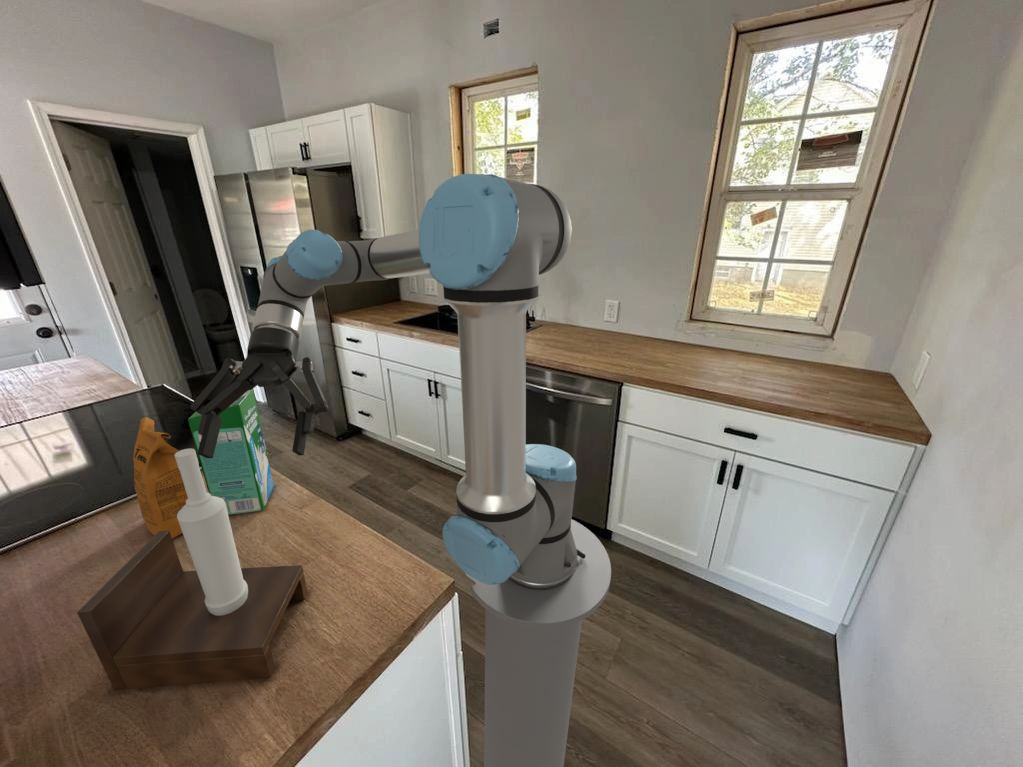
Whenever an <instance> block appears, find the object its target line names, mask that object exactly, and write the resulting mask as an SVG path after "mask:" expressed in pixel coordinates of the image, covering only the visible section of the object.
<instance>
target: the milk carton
mask: <svg viewBox="0 0 1023 767" xmlns="http://www.w3.org/2000/svg"><path fill="white" fill-rule="evenodd" d="M218 417H220V418H222V422H221V426H220V431H219V435H218V439H217V443H216V447H215V451H214V455H213V458H206V457H203V456H201V455H198V454H197V453H198V449H199V445H200V441H201V438H202V435H200V434H199V433H198V429H199V425H200V421H201V418H202V415H201V414H199V413H197V412H196V411H194V413H192V414H191V416H190V417H188V418H187V421H188V426H189V428H190V433H191V436H192V440H193V442H194V446H195V451H196V454H197V458H198V461H199V464H200V468H201V471H202V474H203V478H204V481H205V482H204V483H205V486H206V488H207V489H206V490H207V492H208V493H210V494H211V496H215V497H219V498H222V499H223V500H224V501H225V504H226V508H227V512H228V516H229V515H230V516H231V515H238V514H246V513H252V512H261V511H264V509H265V508H266V505H267V502H268V500H269V498H270V496H271V494H272V492H273V490H274V487H275V484H274V480H273V476H272V470H271V466H270V461H269V456H268V452H267V448H266V443H265V437H264V434H263V429H262V424H261V418H260V414H259V410H258V404H257V400H256V396H255V391H254V388H253V389H252V390H248V391H247V392H246V393H245V394H243V395H242V396H241V397H240V398H239V399H237V400H236V401H235V402H234V403H233V404H232V405H230V406H229V407H228V408H227V409H226V410H224V411H223V412H222V413H221V414H220V415H218Z"/></svg>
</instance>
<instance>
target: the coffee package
mask: <svg viewBox="0 0 1023 767" xmlns="http://www.w3.org/2000/svg"><path fill="white" fill-rule="evenodd" d="M155 424H156V423H155V420H153V419H151V418H149V417H146V416H145V417H142V418H141V419H140V422H139V428H138V432H137V435H136V440H135V444H134V447H133V448H134V449H133V484H134V485H133V486H134V490H135V493H136V497H137V502H138V506H139V509H140V510H139V511H140V513H141V516H142V518H143V521H144V523H145V524H144V525H145V526H146V528H147V530H148V531H149V533H151V534H152V535H153V536H154V535H155V534H156V533H157V532H158V531H170V534H171V537H172V540H173V539H175V538H176V537H178V536H181V535H183V533H182V530H181V527H180V524H179V521H178V519H177V514H178V512H179V511H180V510H181V509H182V508H183V507H184V506H185V505H186V500H187V499H188V496H187V493H186V490H185V486H184V483H183V480H182V476H181V473H180V470H179V468H178V465H177V462H176V459H175V453H177V452H178V451H180V449H179V448H178V449H177V448H175V447H173V446H172V445H171V444H169V443H168V442H167V441H166V440H170V439H171V438H172V436H171V434H169V433H168V432H161V431H155Z"/></svg>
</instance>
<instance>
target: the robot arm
mask: <svg viewBox="0 0 1023 767" xmlns="http://www.w3.org/2000/svg"><path fill="white" fill-rule="evenodd" d="M572 226H573V225H572V220H571V216H570V214H569V210H568V208H567V206H566V204H565V203H564V201H563V200H562V198H560V196H558V194H556V193H555V192H554V191H552V190H551V189H549V188H547V187H545V186H543V185H540V184H535V183H531V182H529V183H528V182H523V181H519V180H514V179H511V178H507V177H502V176H500V175H497V174H492V173H490V174H485V173H462V174H461V173H460V174H457V175H455V176H451V177H450V178H448V179H446V180H444V181H443V182H442V183H440V185H438V186H437V187H436V189H435V190H434V192H433V194H432V196H431V197H430V198H428V200H427V201H426V203H425V205H424V208H423V211H422V213H421V217H420V221H419V227H418V229H414V230H409V231H404V232H399V233H396V234H395V233H394V234H390V235H385V236H381V237H375V238H370V239H365V240H348V241H347V240H335V238H334V237H333V236H331V234H328V233H325V232H322V231H320V230H318V229H307V230H304V231H301V233H299V235H298V236H297V237H295V239H293V240H292V241H291V242H290V243H289V244H288V246H287V248H286V250H285V251H284V253H283V254H282V255H279V256H277V257H272V258H271V259H270V260H269V261H268V263H267V266H266V268H265V271H264V272H263V276H262V277H263V278H262V284H261V289H260V294H259V299H258V303H257V307H256V310H255V314H254V319H253V323H252V327H251V330H252V331H251V332H250V335H249V340H248V345H247V350H246V353H247V354H246V357H245V359H244V360H243V361H242V360H241V361H240V360H234V359H232V357H226V358H225V359H224V360H223V363H222V365H221V369H220V370H219V371H218V372H217V373H216V374H215V376H214V377H212V379H211V380H210V381H209V383H208V384H207V385H206V386H205V387H204V389H203V390H202V391H201V392H200V394H199V395H198V396H197V397H196V398H195V400H193V402H191V404H190V405H189V407H190V409H191V410H192V411H193V412H197V413H199V414H201V415H202V418H201V421H200V425H199V429H198V433H199V434H200V435H202V438H201V441H200V445H199V449H198V453H197V452H196V455H197V456H198V455H201V456H203V457H206V458H213V455H214V451H215V447H216V443H217V439H218V435H219V431H220V426H221V422H222V418H220V417H218V415H220V414H221V413H222V412H223V411H224V410H226V409H227V408H228V407H229V406H230V405H232V404H233V403H234V402H235V401H236V400H237V399H239V398H240V397H241V396H242V395H243V394H245V393H246V392H247V391H248V390H252V389H253V390H254V388H256V387H257V386H258V387H259V388H265V387H272V388H279V387H280V386H281V385H284V386H285V387H286V388H287V390H288V391H289V392H290V393H291V395H292V396H293V397H294V398H295V399H296V401H297V403H299V405H300V406H301V407H302V409H303V410H304V411H302V410H301V411H298V413H297V418H296V425H295V431H294V436H293V444H292V449H291V450H292V453H295V454H296V455H297V456H305V449H306V442H307V438H308V435H312V434H313V432H314V429H315V422H316V416H317V415H319V414H321V413H327V412H328V411H329V409H330V408H329V405H328V402H327V400H326V399H325V396H324V393H323V391H322V388H321V386H320V384H319V382H318V379H317V377H316V373H315V372H316V366H315V364H314V362H313V361H312V359H311V358H310V357H308V356H306V357H303V359H302V360H297V359H298V353H299V348H300V339H301V335H302V329H303V323H304V319H305V313H306V309H307V304H308V301H309V299H311V298H312V296H314V295H315V294H316V292H318V290H320V289H321V288H322V287H326V286H336V285H346V284H353V283H364V282H373V281H387V280H389V279H395V278H404V277H412V276H421V275H429V274H430V276H431V277H432V278H433V279H434V280H435V281H437V282H438V283H439V284H440V285H442V287H443V289H442V290H443V301H444V302H446V304H448V305H449V306H450V308H452V309H453V310H454V311H455V312H456V314H457V315H456V316H457V334H458V351H459V352H458V353H459V370H460V372H459V373H460V389H461V390H460V391H461V407H462V425H463V426H462V427H463V428H462V429H463V445H464V446H463V448H464V464H465V475H463V477H462V478H461V479H460V480H459V481H458V483H457V485H456V488H455V493H456V495H455V496H456V513H455V515H451V516H450V517H449V518H448V519H447V521H446V522H445V523H444V525H443V527H442V532H441V533H442V535H441V536H442V541H443V544H444V547H445V550H446V551H447V553H448V555H449V556H450V558H451V559H452V560H453V562H454V563H455V564H456V565H457V566H458V567H459V569H460V570H461V571H463V573H464V572H465V573H466V574H467V575H469V576H470V577H472V578H473V579H475V580H477V581H479V582H482V583H484V584H489V585H497V584H499V583H503V582H505V581H506V580H507V579H509V580H511V581H512V582H514V583H515V584H517V585H519V586H522V587H525V588H528V589H534V590H547V589H553V588H556V587H559V586H561V585H563V584H564V583H566V582H567V581H568V580H569V579H570V578H571V577H572V576H573V574H574V573H575V570H576V566H577V555H578V556H579V557H581V558H583V559H584V558H585V556H586V555H585V554H583V553H582V552H580V551H579V550H578V549H576V545H575V542H574V538H573V535H572V531H571V519H572V517H573V509H574V501H575V500H574V499H575V491H576V482H577V479H578V477H577V463H576V461H575V459H574V458H573V457H572V455H571V454H569V453H568V452H567V451H565V450H563V449H561V448H558V447H556V446H552V445H548V444H539V443H529V444H527V441H526V440H527V433H526V432H527V431H526V430H527V425H526V424H527V380H526V379H527V312H528V311H529V309H530V308H531V307H532V306H533V305H534V304H535V303H536V302H537V301H538V300H539V287H540V286H539V285H540V284H539V282H540V280H539V278H540V276H541V275H543V274H545V273H547V272H550V271H551V270H552V269H554V268H555V267H557V265H558V264H559V263H560V262H561V261H562V260H563V259H564V257H565V255H566V253H567V252H568V250H569V247H570V245H571V239H572V231H573V227H572ZM297 370H298V371H299V372H300V373H302V374H303V376H304V379H305V382H306V383H307V386H308V388H309V391H310V393H311V395H312V398H313V400H314V403H311V402H310V400H309V399H308V398H307V397H306V396H305V394H303V392H302V391H301V389H300V388H299V387H298V386H297V385H296V383H295V382H294V381H293V379H292V378H291V377H292V376H293V375H294V373H295V372H297ZM241 371H242V372H241ZM248 379H249V381H247V380H248ZM572 520H573V519H572ZM467 575H466V576H467Z"/></svg>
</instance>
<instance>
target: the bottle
mask: <svg viewBox="0 0 1023 767" xmlns="http://www.w3.org/2000/svg"><path fill="white" fill-rule="evenodd" d="M175 459H176V462H177V465H178V468H179V470H180V473H181V476H182V480H183V483H184V486H185V490H186V493H187V496H188V499H187V500H186V505H185V506H184V507H183V508H182V509H181V510H180V511H179V512H178V514H177V519H178V521H179V524H180V527H181V530H182V535H183V537H184V541H185V543H186V546H187V549H188V552H189V554H190V557H191V560H192V563H193V565H194V568H195V571H197V574H198V577H199V580H200V583H201V585H202V588H203V591H204V594H205V596H206V597H205V601H204V602H205V604H206V607H207V609H208V611H209V612H210V613H211V614H213V615H216V616H221V615H226V614H229V613H231V612H233V611H235V610H237V609H238V608H239V607H241V606H242V605H243V604H244V602H245V601H246V599H247V596H248V586H247V583H246V582H245V580H243V575H242V571H241V568H242V566H241V562H240V560H239V554H238V550H237V546H236V542H235V538H234V534H233V529H232V525H231V521H230V516H229V515H228V512H227V508H226V504H225V501H224V500H223V499H222V498H219V497H215V496H211V494H210V493H209V492H208V491H207V489H206V488H207V487H206V484H205V482H204V479H203V478H204V477H203V475H202V472H201V471H202V470H201V467H200V465H199V464H200V461H199V458H198V454H197V451H196V449H195V448H184V449H181V450H179V451H178V452H177V453H175Z"/></svg>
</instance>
